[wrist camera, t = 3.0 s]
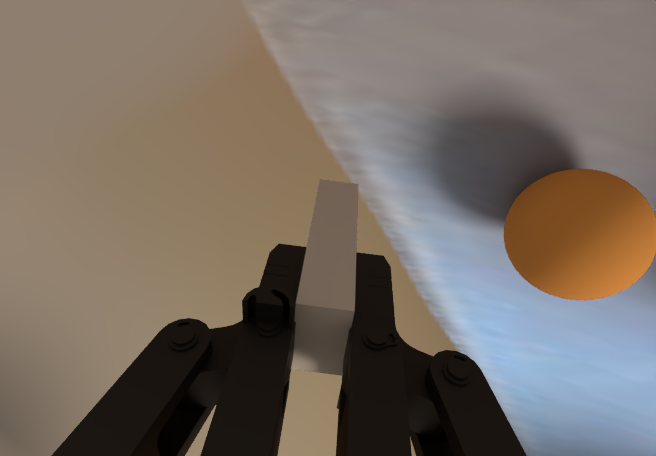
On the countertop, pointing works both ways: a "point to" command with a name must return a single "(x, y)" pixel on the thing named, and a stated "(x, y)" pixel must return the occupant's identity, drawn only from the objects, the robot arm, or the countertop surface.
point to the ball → (580, 234)
